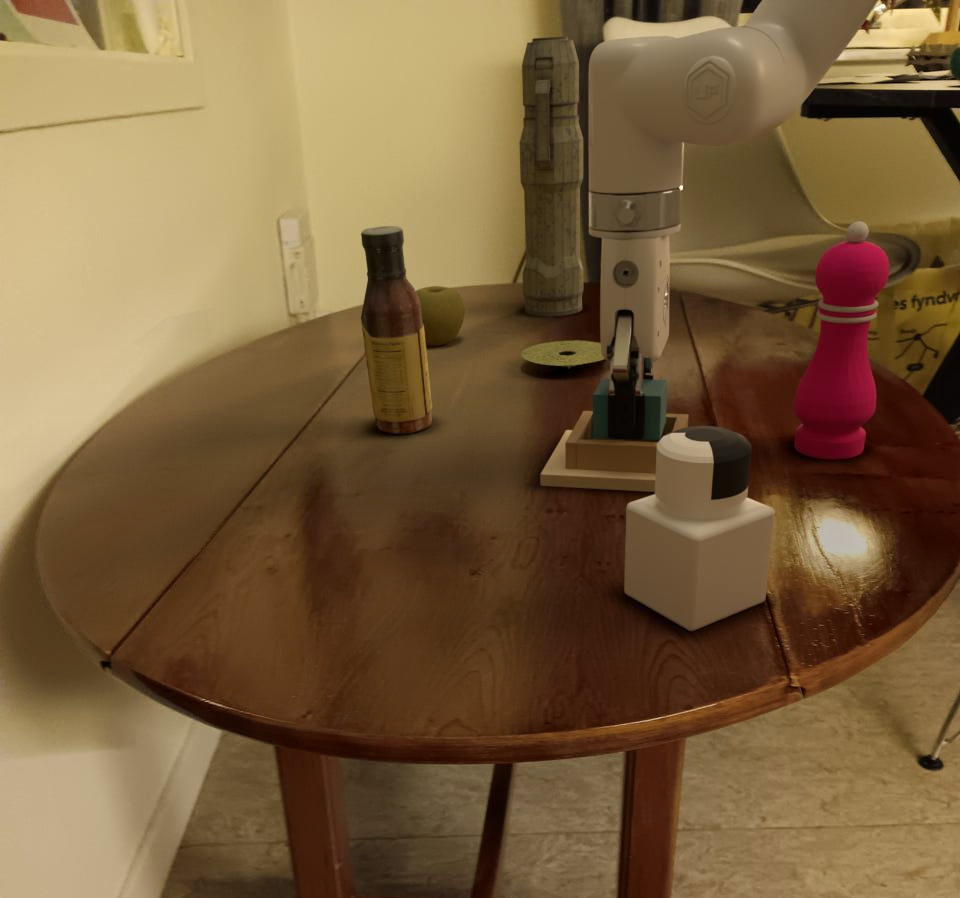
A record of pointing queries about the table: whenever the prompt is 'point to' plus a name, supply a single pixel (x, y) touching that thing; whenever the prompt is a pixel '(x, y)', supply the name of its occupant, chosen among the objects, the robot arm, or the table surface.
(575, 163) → the thermos
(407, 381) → the sauce bottle
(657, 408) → the teal block
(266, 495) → the table surface
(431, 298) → the apple
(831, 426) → the pepper mill
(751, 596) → the medicine bottle
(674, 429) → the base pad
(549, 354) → the green disc with hole
